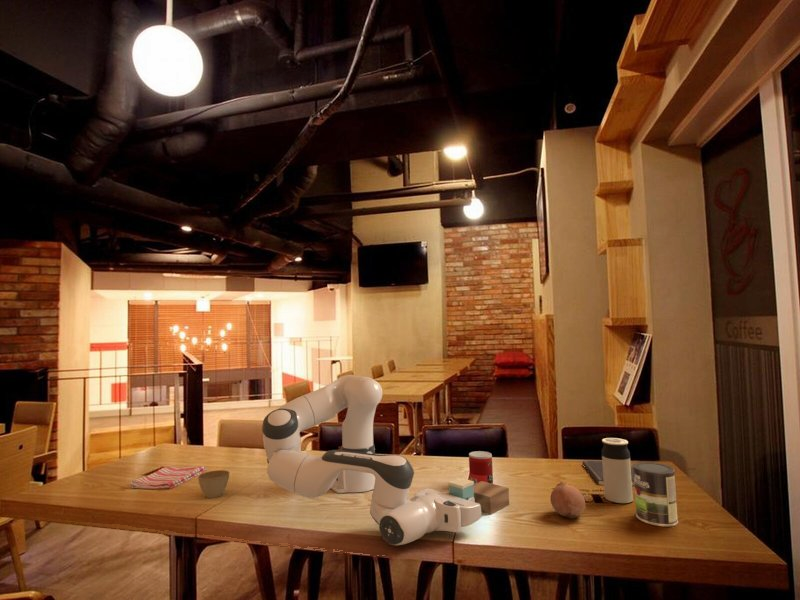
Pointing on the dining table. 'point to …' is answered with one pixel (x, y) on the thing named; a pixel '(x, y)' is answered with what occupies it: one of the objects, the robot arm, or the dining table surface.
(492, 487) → the riser block
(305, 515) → the dining table surface
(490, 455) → the canned food
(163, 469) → the dish towel
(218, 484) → the flower pot
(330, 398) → the robot arm
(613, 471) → the travel mug
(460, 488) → the tea tin
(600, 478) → the hardcover book
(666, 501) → the coffee can
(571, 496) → the onion
